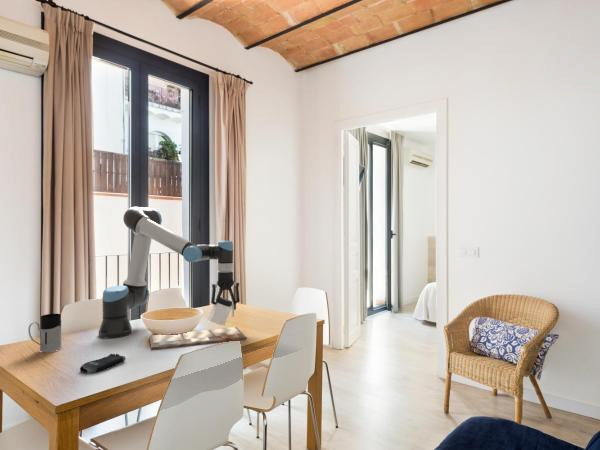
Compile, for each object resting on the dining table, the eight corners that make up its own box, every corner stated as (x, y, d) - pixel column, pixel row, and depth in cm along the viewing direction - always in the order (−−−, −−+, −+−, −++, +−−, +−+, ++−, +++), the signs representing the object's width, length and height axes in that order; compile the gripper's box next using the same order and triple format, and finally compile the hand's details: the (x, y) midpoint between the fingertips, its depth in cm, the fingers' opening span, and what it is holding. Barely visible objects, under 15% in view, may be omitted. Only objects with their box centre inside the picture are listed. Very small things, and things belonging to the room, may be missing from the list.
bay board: (151, 349, 173) (151, 346, 173) (149, 337, 192) (149, 335, 192) (246, 339, 190) (246, 336, 190) (236, 329, 209) (236, 326, 209)
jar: (217, 324, 192) (226, 301, 193) (204, 318, 195) (213, 295, 197) (227, 325, 200) (236, 303, 201) (215, 319, 203) (223, 297, 205)
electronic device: (107, 364, 161) (73, 370, 147) (110, 350, 161) (77, 356, 148) (123, 370, 157) (90, 378, 143) (127, 356, 157) (94, 363, 144)
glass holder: (67, 347, 176) (67, 314, 176) (36, 357, 163) (36, 321, 163) (52, 345, 179) (52, 312, 179) (21, 355, 166) (21, 319, 166)
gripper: (207, 273, 192) (207, 320, 192) (246, 271, 200) (246, 316, 200) (204, 271, 199) (204, 317, 199) (242, 269, 207) (242, 313, 207)
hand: (225, 316), depth 199 cm, fingers closed on jar, 7 cm apart
